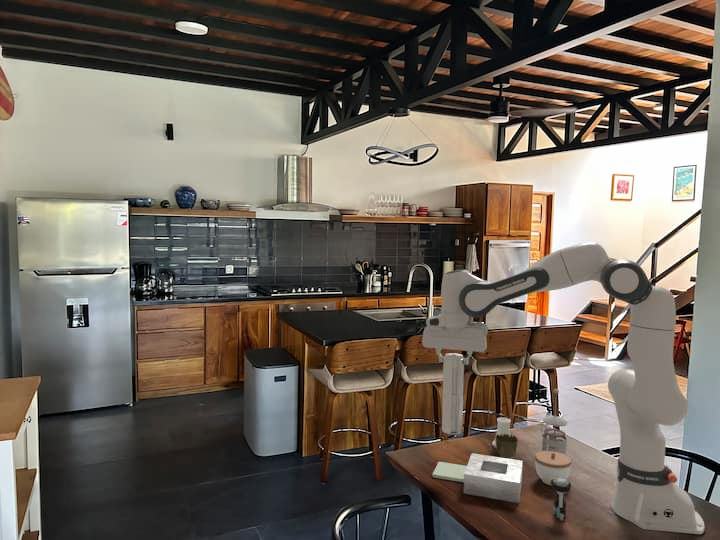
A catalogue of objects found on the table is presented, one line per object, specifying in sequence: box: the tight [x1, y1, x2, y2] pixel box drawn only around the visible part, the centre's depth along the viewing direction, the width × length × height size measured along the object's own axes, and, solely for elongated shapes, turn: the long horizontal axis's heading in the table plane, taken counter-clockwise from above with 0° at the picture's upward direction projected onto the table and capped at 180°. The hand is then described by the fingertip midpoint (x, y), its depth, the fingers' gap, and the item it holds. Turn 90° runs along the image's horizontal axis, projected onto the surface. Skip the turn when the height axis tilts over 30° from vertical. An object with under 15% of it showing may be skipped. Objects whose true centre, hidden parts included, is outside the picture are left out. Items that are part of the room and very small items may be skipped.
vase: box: [492, 416, 512, 448], centre depth 193 cm, size 8×8×10 cm
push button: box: [550, 477, 572, 521], centre depth 146 cm, size 7×5×10 cm
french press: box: [540, 388, 569, 455], centre depth 182 cm, size 10×12×25 cm
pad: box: [431, 461, 467, 483], centre depth 171 cm, size 10×10×1 cm
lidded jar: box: [534, 450, 572, 486], centre depth 166 cm, size 11×11×9 cm
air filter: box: [441, 352, 465, 436], centre depth 169 cm, size 6×6×25 cm
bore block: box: [463, 452, 524, 504], centre depth 162 cm, size 16×16×6 cm
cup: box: [494, 433, 519, 459], centre depth 181 cm, size 8×7×8 cm
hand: (453, 363), depth 169 cm, fingers closed on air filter, 6 cm apart
